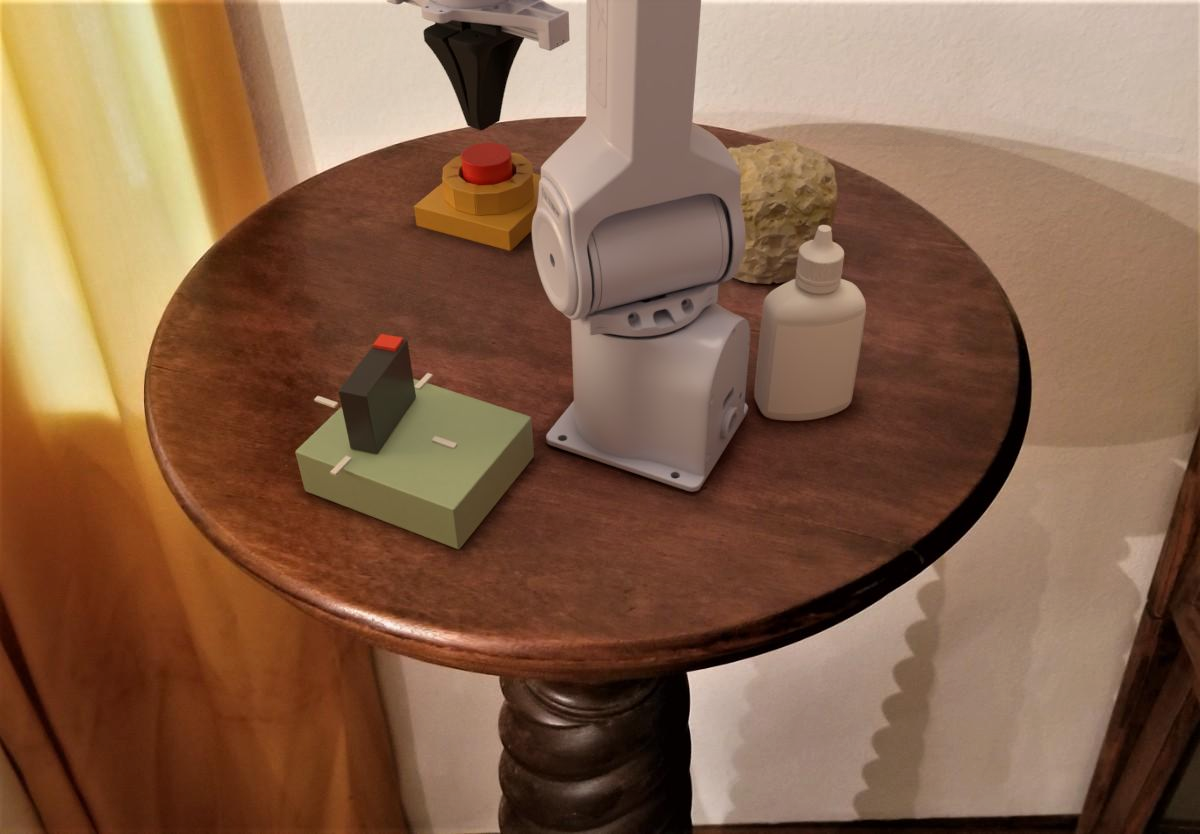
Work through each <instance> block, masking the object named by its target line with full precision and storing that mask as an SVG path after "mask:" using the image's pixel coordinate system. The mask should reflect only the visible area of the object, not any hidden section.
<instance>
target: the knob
mask: <svg viewBox="0 0 1200 834" xmlns="http://www.w3.org/2000/svg"><path fill="white" fill-rule="evenodd" d="M408 341H409V340H408V339H405V338H403V337H401V336H396V335H389V334H384V333H380V334H379V335H378V337H377V338H376V339H375V341H374V342H373V343H372V346H371V348H369V350H368V351H367V353H366V354H365V356H363V358H362V359H361V360H360V362H358V365H357V366H356V367H355V368H354V369H353V371H352V372H351V374H350V375H349V376H348V377H347V379H346V380H345V381H344V383H343V384H342V385H341V387H340V388H339V389H338V395H339V400H340V401H339V402H340V407H342V410H343V415H344V420H345V425H346V430H347V434H348V439H349V444H350V448H351V449H355V450H360V451H365V452H369V453H374V454H378V452H379V451H380V449H381V448H382V446H383V445H384V443H385V442H386V440H387V439H388V437H389V436H390V434H391V433H392V432H393V430H394V429H395V427H396V426H397V424H398V423H399V421H400V420H401V418H402V417H403V415H404V414H405V412H406V411H407V409H408V408H409V406H410V405H411V404H412V402H413V401H414V399H415V398H416V393H415V386H414V380H413V379H414V374H413V373H414V372H413V368H412V361H411V354H410V349H409V343H408Z"/></svg>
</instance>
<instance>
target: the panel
mask: <svg viewBox="0 0 1200 834" xmlns="http://www.w3.org/2000/svg"><path fill="white" fill-rule="evenodd" d="M433 377H434V374H432V373H430V372H427V373H426V374H425V375H424V376H423V377H422V378H421V379H420V380H419V379H416V378H413V380H414V386H415V393H416V398H415V399H414V401H413V402H412V404H411V405H410V406H409V408H408V409H407V411H406V412H405V414H404V415H403V417H402V418H401V420H400V421H399V423H398V424H397V426H396V427H395V429H394V430H393V432H392V433H391V434H390V436H389V437H388V439H387V440H386V442H385V443H384V445H383V446H382V448H381V449H380V451H379V452H378V454H374V453H369V452H365V451H360V450H355V449H351V448H350V444H349V439H348V434H347V430H346V425H345V420H344V415H343V410H342V406H340V407H339V408H338V409H337V410H336V411H335V412H334V413H333V414H332V415H331V416H330V417H329V418H328V419H327V420H326V421H325V422H324V423H323V424H321V426H320V427H318V429H317V430H316V431H314V433H313V434H311V435H310V436H309V437H308V439H306V440H305V441H304V442H303V443H302V444H301V445H300V446H299V447H298V448H297V449H296V450H295V456H296V460H297V465H298V469H299V473H300V476H301V481H302V485H303V488H304V491H305V492H306V493H309V494H311V495H315V496H317V497H320V498H321V499H325V500H328V501H330V502H333V503H335V504H338V505H340V506H343V507H346V508H348V509H351V510H353V511H357V512H359V513H362V514H364V515H367V516H370V517H372V518H375V519H378V520H380V521H383V522H385V523H388V524H390V525H393V526H396V527H398V528H401V529H404V530H406V531H409V532H411V533H414V534H417V535H419V536H422V537H425V538H427V539H429V540H432V541H435V542H438V543H441V544H443V545H446V546H448V547H451V548H453V549H456V550H461V548H462V547H463V546H464V544H465V543H466V542H467V540H468V539H469V538H470V537H471V536H472V534H473V533H474V532H475V531H476V529H477V528H479V526H480V525H481V524H482V523H483V521H484V519H486V517H487V516H488V515H489V513H490V512H491V511H492V510H493V508H494V507H495V506H496V504H498V502H499V501H500V500H501V499H502V497H503V496H504V495H505V493H506V492H507V491H508V490H509V488H510V487H511V486H512V485H513V483H514V482H515V481H516V479H518V477H519V476H520V475H521V473H522V472H523V471H524V470H525V469H526V467H528V465H529V463H531V462H532V459H534V458H535V450H534V438H533V437H534V436H533V424H532V423H533V421H532V417H531V415H530V416H529V415H526V414H523V413H520V412H517V411H514V410H511V409H508V408H505V407H502V406H499V405H496V404H493V403H490V402H487V401H483V400H481V399H477V398H474V397H471V396H468V395H465V394H462V393H459V392H456V391H453V390H449V389H448V388H443V387H440V386H437V385H434V384H431V383H428V382H429V381H431V379H432V378H433ZM313 401H314V402H315V403H318V404H322V405H324V406H327V407H329V408H333V409H336V408H337V407H338V406H339V402H337V401H335V400H331V399H329V398H326V397H323V396H321V395H317V396H316V397H315V398H314V399H313Z"/></svg>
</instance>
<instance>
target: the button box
mask: <svg viewBox="0 0 1200 834" xmlns="http://www.w3.org/2000/svg"><path fill="white" fill-rule="evenodd" d="M511 155H512V169H513V176H512V178H511V179H510V180H508V181H505V182H501V183H498V184H495V185H475V184H471V183H467V182H466V181H465V180H464V178H463V170H462V160H461V154H459V155H457V156H455V157H453V158H452V159H451V160H450V161H449V162H448V163H446V164H445V165H444V166H443V167H442V175H441V176H442V177H441V180H442V182H441V183H440V184H439V185H437V186H436V187H435V188H434V189H433V190H432V191H430V192H429V193H428V194H427V195H425V197H422V199H421V200H419V202H417V203H416V204H415V205H414V206H413V208H414V216H415V223H416V226H417V227H419V228H424V229H426V230H427V229H428V230H431V231H435V232H438V233H441V234H446V235H450V236H453V237H457V238H461V239H463V240H464V239H465V240H468V241H472V242H476V243H479V244H483V245H487V246H490V247H494V248H498V249H501V250H505V251H508V252H511V251H512V250H513V249H514V248H516V247H517V246H518V245H519V244H520V243H521V242H522V241H523V240H525V238H526V237H527V236H528V235H529V234H530V233H532V221H533V217H534V214H535V212H536V209H537V204H538V195H539V181H540V179H541V174H540V173H534V166H533V165H534V164H533V162H531V161H530V160H528V159H527V158H526V157H525V156H524V155H523V154H520V153H517V152H513V151H511Z"/></svg>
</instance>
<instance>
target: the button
mask: <svg viewBox="0 0 1200 834" xmlns="http://www.w3.org/2000/svg"><path fill="white" fill-rule="evenodd" d="M511 152H512V151H511V149H510V148H509V146H507V145H505V144H502V143H498V142H480V143H475V144H472V145H470V146H468V147H466V148H465V149H464V150H463V151H462V152H461V153H460V155H461V160H462V170H463V178H464V180H465V181H466V182H467V183H471V184H475V185H495V184H498V183H501V182H505V181H508V180H510V179H511V178H512V176H513V169H512V155H511Z"/></svg>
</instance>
